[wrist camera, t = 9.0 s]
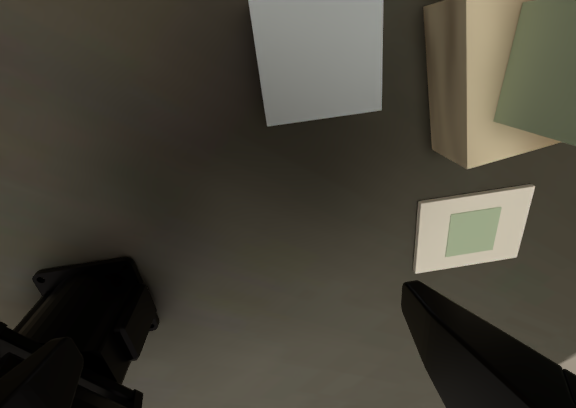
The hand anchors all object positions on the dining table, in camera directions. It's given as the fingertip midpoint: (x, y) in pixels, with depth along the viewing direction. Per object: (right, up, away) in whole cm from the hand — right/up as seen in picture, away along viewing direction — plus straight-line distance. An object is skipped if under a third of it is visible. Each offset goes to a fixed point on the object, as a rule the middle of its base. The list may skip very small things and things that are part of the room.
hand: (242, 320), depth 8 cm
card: (+14, +1, +14) cm, 20 cm away
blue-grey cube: (+2, +11, +8) cm, 14 cm away
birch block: (+13, +11, +10) cm, 20 cm away
